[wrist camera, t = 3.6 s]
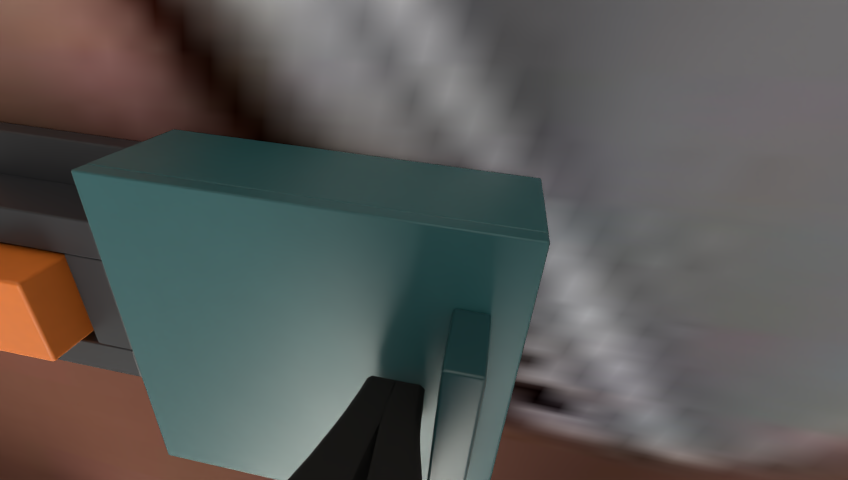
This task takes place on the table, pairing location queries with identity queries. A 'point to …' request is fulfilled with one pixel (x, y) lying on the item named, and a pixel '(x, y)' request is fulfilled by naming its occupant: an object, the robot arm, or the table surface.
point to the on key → (39, 304)
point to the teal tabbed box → (315, 292)
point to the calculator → (63, 227)
